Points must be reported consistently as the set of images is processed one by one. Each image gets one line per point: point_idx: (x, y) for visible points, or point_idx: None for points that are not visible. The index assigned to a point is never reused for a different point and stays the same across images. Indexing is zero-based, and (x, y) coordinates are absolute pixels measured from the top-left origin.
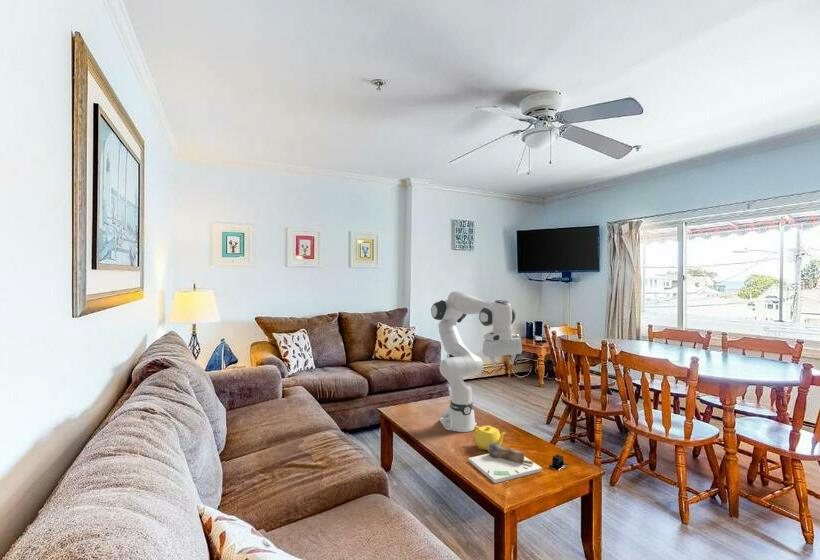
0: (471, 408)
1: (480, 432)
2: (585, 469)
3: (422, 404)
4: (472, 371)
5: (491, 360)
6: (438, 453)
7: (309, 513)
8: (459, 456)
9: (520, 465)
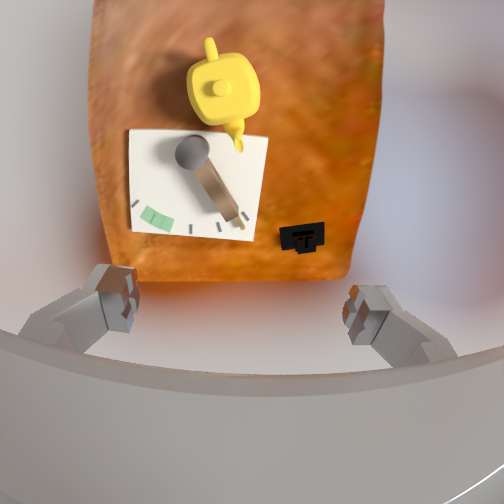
0: None
1: (190, 86)
2: (331, 268)
3: None
4: None
5: (63, 303)
6: (92, 67)
7: None
8: (126, 98)
9: (218, 212)
